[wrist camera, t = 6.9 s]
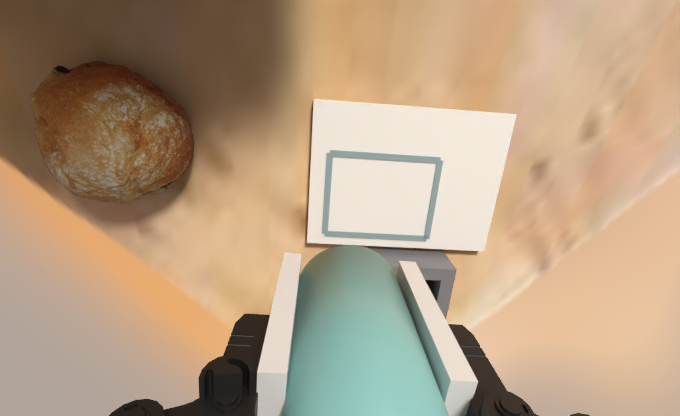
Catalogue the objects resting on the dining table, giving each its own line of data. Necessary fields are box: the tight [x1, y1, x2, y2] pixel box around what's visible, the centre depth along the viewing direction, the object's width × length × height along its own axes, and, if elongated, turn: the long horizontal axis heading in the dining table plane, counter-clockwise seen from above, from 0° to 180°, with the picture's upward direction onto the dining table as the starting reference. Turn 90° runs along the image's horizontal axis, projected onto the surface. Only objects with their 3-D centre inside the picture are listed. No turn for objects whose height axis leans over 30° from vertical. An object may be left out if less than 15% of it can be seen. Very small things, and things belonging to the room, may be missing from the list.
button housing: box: [368, 247, 456, 319], centre depth 31 cm, size 7×7×4 cm
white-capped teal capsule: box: [282, 245, 449, 416], centre depth 11 cm, size 4×4×11 cm
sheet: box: [307, 99, 516, 251], centre depth 29 cm, size 16×12×1 cm
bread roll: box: [30, 61, 193, 202], centre depth 25 cm, size 10×10×8 cm
